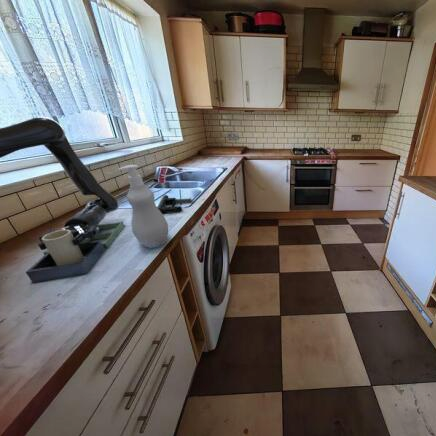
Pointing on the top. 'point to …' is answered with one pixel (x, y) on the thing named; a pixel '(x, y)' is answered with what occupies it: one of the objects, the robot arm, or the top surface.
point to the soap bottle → (145, 212)
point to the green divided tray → (104, 234)
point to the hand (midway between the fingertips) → (58, 245)
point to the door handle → (171, 201)
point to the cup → (62, 247)
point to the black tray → (50, 270)
